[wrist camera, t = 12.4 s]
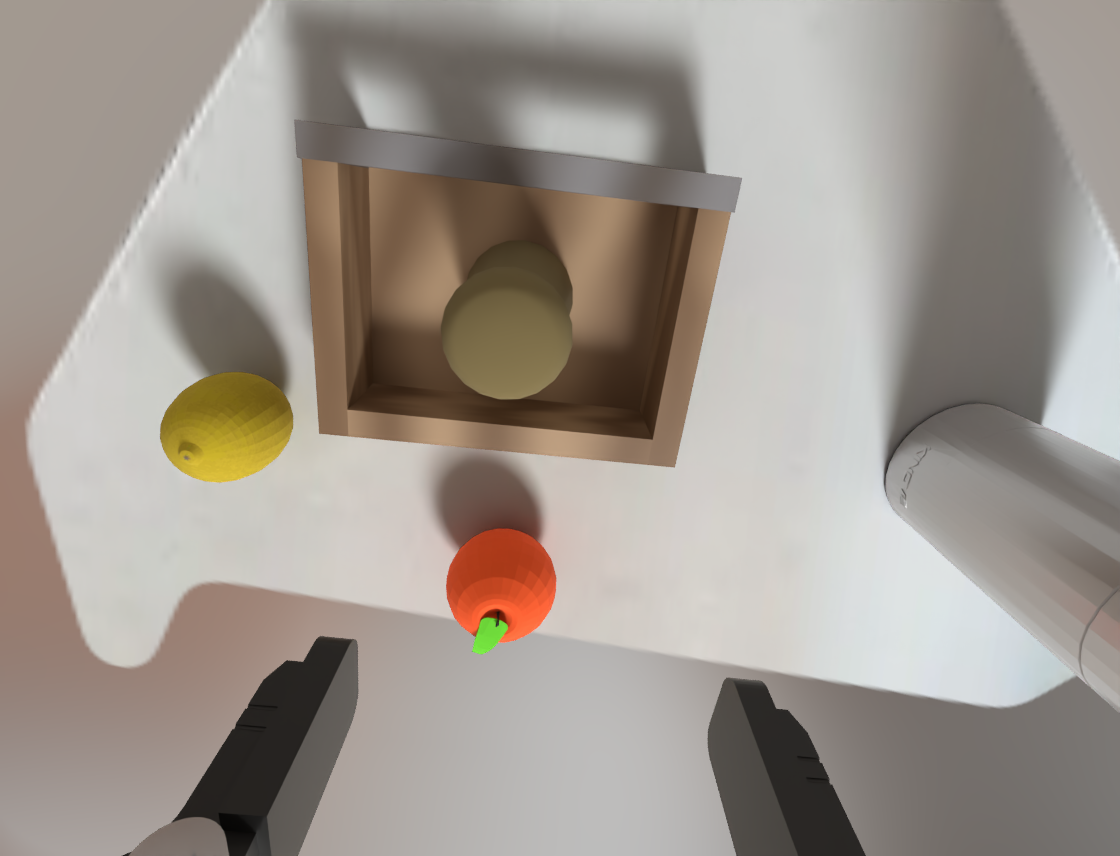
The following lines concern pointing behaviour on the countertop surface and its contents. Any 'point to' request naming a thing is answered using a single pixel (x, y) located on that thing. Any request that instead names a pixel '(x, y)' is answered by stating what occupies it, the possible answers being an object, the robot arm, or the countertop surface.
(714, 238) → the box
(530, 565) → the clementine
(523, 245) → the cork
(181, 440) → the lemon
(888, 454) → the countertop surface
